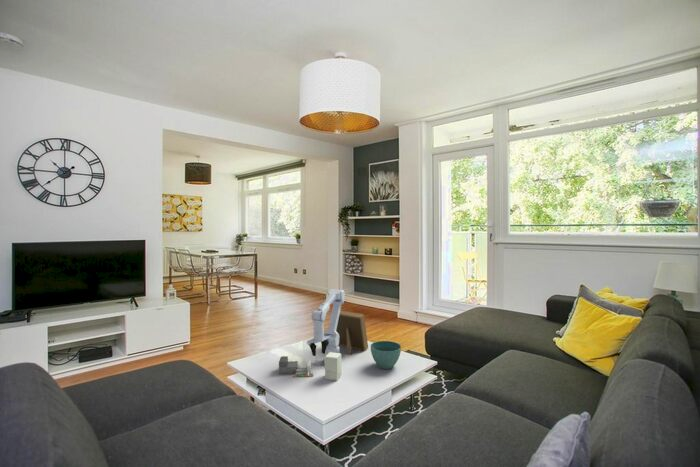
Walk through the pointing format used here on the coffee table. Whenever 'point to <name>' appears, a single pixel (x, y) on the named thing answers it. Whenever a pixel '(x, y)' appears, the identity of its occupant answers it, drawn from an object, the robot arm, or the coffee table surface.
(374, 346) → the teal rounded bowl
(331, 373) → the supplement box
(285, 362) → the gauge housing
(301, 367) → the gauge plunger
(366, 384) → the coffee table surface
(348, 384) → the coffee table surface
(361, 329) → the photo frame
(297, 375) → the gauge scale
